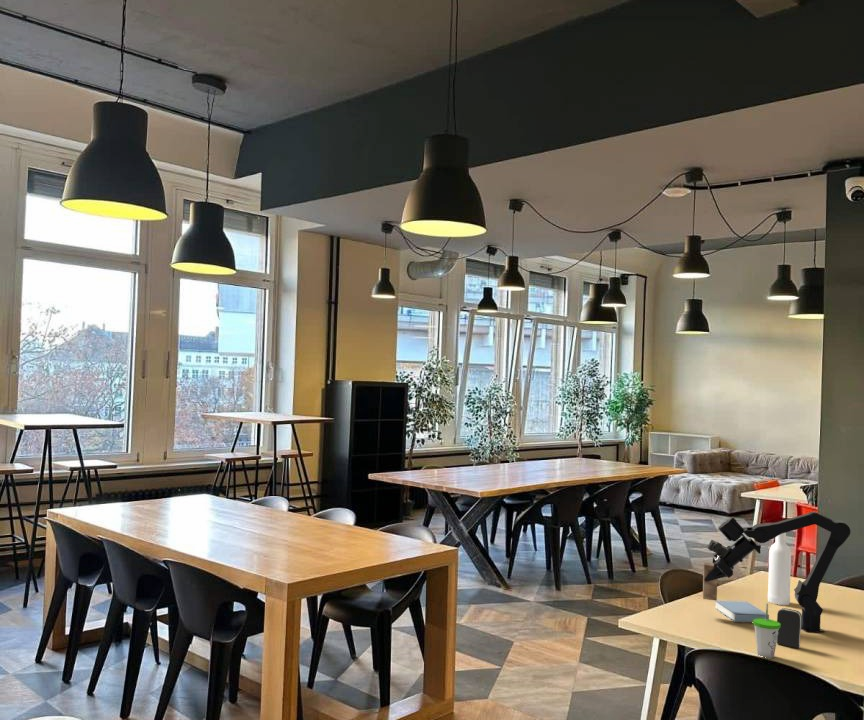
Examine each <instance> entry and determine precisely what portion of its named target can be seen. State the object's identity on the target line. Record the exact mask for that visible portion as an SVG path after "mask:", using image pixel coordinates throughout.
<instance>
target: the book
mask: <svg viewBox="0 0 864 720" xmlns="http://www.w3.org/2000/svg"><path fill="white" fill-rule="evenodd" d="M714 601H715V608H716V609H717V611H718V610H719V611H720V612H719V611H718V612H719V613H721V614H722V613H723V614H722V615H724V616H725V615H726V616H727V617H726V616H725V617H726V618H728V617H729V618H730V619H729V618H728V619H729V620H731V619H732V620H733V621H732V620H731V621H732V622H733V623H735V622H753V620H754V619H757V618H763V619H766V611H765V612H764V611H763V610H761V609H760V608H759V607H757V606H755V605H753V604H751V603H750V602H748V601H743V600H742V601H741V600H738V601H737V600H717V601H716V600H714ZM716 609H715V610H716ZM768 619H770V615H769V614H768Z"/></svg>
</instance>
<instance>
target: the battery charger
mask: <svg viewBox="0 0 864 720" xmlns="http://www.w3.org/2000/svg"><path fill="white" fill-rule="evenodd" d="M776 615H777V616H776V621H777V622H779V623H780V624H781V627H780V628H779V632H778V637H777V643H776V645H781V646H784V647H789V648H795V649H800V647H801V632H802V631H801V630H802V629H801V627H802V612H800V611H799V610H796V609H791V608H784V607H783V608H780V609H778V611H777V614H776Z"/></svg>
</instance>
